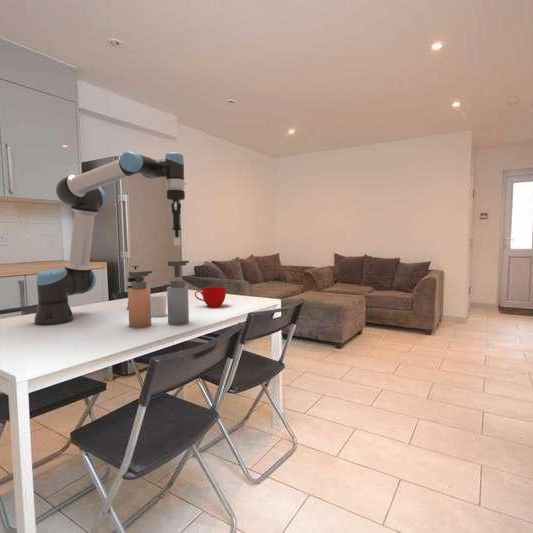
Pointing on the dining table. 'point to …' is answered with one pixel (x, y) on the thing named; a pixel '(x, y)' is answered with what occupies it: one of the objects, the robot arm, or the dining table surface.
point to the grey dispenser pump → (139, 275)
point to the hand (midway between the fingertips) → (177, 244)
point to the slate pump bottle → (178, 303)
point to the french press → (133, 280)
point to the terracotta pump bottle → (139, 305)
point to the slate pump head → (177, 266)
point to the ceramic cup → (213, 296)
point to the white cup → (158, 305)
